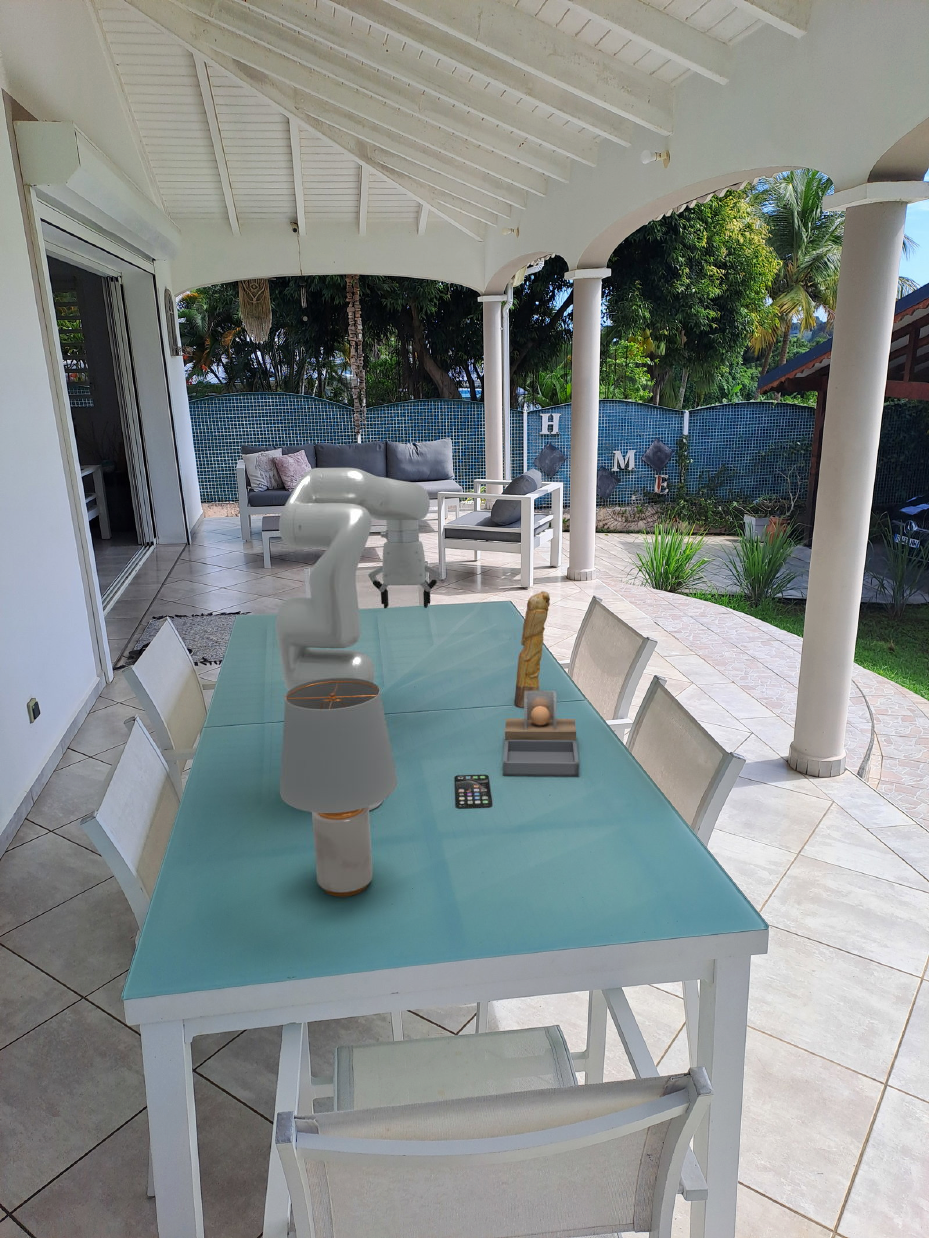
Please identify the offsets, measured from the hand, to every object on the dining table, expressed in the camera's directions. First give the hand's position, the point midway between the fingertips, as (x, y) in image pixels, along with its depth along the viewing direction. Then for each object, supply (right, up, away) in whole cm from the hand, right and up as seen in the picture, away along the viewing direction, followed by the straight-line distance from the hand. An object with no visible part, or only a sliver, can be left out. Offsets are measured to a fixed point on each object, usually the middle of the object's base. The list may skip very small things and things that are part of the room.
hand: (406, 606), depth 208 cm
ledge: (+32, -32, -9) cm, 46 cm away
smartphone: (+16, -39, -30) cm, 52 cm away
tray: (+31, -35, -18) cm, 50 cm away
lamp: (-6, -48, -63) cm, 79 cm away
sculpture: (+32, -25, +18) cm, 44 cm away
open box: (+31, -27, -10) cm, 43 cm away
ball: (+31, -25, -10) cm, 41 cm away
